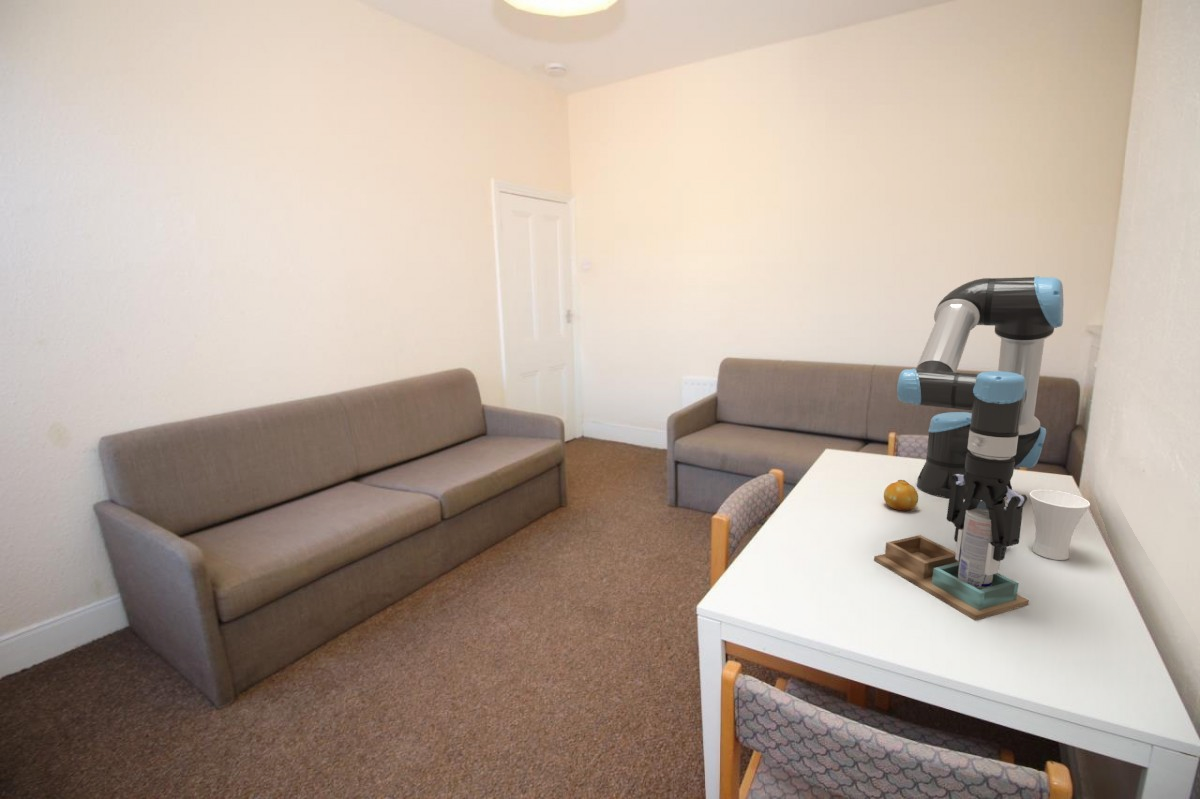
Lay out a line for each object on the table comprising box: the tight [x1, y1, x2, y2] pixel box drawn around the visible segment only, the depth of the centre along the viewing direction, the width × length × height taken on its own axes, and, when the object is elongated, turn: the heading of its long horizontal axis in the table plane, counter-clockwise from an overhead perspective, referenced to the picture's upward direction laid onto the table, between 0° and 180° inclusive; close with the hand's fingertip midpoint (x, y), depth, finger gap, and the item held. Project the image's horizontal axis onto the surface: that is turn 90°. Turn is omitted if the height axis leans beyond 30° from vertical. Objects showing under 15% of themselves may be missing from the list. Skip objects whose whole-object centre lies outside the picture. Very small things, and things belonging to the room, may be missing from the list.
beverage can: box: [958, 508, 993, 589], centre depth 107 cm, size 6×6×15 cm
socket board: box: [873, 534, 1030, 621], centre depth 114 cm, size 24×14×4 cm, turn 19°
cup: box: [1028, 489, 1091, 561], centre depth 123 cm, size 10×10×14 cm
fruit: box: [883, 479, 919, 512], centre depth 150 cm, size 8×8×8 cm
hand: (976, 565), depth 108 cm, fingers closed on beverage can, 5 cm apart
